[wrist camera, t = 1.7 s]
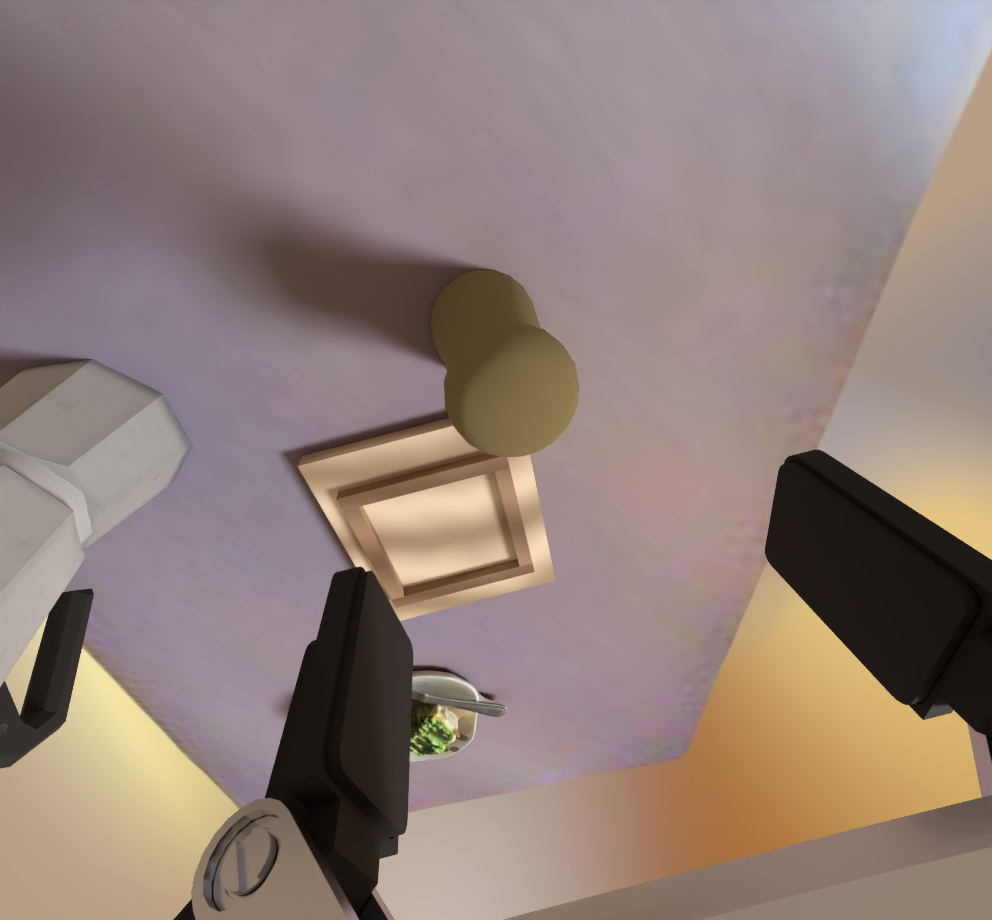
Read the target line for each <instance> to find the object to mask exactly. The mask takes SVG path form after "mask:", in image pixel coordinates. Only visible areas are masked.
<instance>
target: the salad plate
mask: <svg viewBox="0 0 992 920" xmlns="http://www.w3.org/2000/svg"><path fill="white" fill-rule="evenodd" d="M506 710H507V708H506V706H505V705H504V704H502V703H499V702H496V701H492V700H489V699H486V698H484V697H483V696H481V695H480V694H479V693H478V691H477V690H476V688H475V687H474V685H472V684H471V683H469V682H467V681H466V680H464V679H462V678H460V677H458V676H456V675H455V674H452V673H447V672H441V671H431V670H421V671H413V677H412V706H411V734H410V761H417V762H418V761H423V760H432V759H439V758H444V757H447V756H450V755H452V754H454V753H456V752H458V751H460V750H461V749H463V748H464V747H465V746H467V745H468V744H469V743H470V742H471V741H472V739H473V737H474V735H475V728H476V724H477V715H478V713H480V714H484V715H488V716H494V717H499V716H502V715H504V714H505V713H506Z"/></svg>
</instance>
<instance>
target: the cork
mask: <svg viewBox="0 0 992 920" xmlns="http://www.w3.org/2000/svg"><path fill="white" fill-rule="evenodd" d="M430 325H431V337H432V339H433V342H434V345H435V347H436V350H437V352H438V354H439V356H440V358H441V360H442V362H443V364H444V365H445V367H446V369H447V373H446V377H445V380H444V390H445V408H446V410H447V413H448V415H449V418H450V420H451V422H452V425H453V426H454V428H455V429H456V430H457V431H458V433H459V434H460V435H461V436H462V437H463V438H464V439H465V440H466V442H467V443H468V444H470V445H471V446H473V447H475V448H477V449H478V450H480V451H482V452H484V453H487V454H491V455H496V456H500V457H522V456H526V455H529V454H532V453H535V452H538V451H540V450H542V449H543V448H545V447H547V446H548V445H550V444H551V443H553V442H554V441H555V440H556V439H557V438H558V437H559V436H560V435H561V433H562V432H563V431H564V430H565V429H566V428H567V427H568V425H569V423H570V421H571V419H572V417H573V415H574V413H575V411H576V409H577V403H578V396H579V383H578V378H577V373H576V368H575V364H574V362H573V360H572V359H571V357H570V355H569V354H568V352H567V350H566V349H565V347H564V346H563V345H562V344H561V343H560V342H559V341H558V340H557V339H555V338H554V337H553V336H552V335H550V334H549V333H548V332H546V331H545V330H544V329H541V328H540V325H539V322H538V319H537V316H536V313H535V309H534V306H533V303H532V301H531V299H530V297H529V296H528V294H527V293H526V291H525V289H524V288H523V286H521V285H520V284H519V283H518V282H517V281H515V280H514V279H513V278H512V277H510V276H509V275H506V274H503V273H500V272H498V271H495V270H473V271H470V272H468V273H465V274H462V275H459V276H457V277H456V278H455V279H454V280H452V281H451V282H450V283H449V284H447V285H446V286H445V287H444V288H443V290H442V291H441V293H440V294H439V296H438V297H437V299H436V300H435V302H434V306H433V310H432V314H431V317H430Z"/></svg>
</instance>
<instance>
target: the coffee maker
mask: <svg viewBox="0 0 992 920" xmlns="http://www.w3.org/2000/svg"><path fill="white" fill-rule="evenodd" d="M191 446H192V444H191V443H190V441H189V439H188V437H187V436H186V434H185V432H184V430H183V429H182V427H181V425H180V423H179V422H178V420H177V418H176V416H175V415H174V413H173V411H172V409H171V408H170V406H169V404H168V402H167V401H166V399H165V397H164V395H163V394H161V393H159V392H157V391H155V390H153V389H151V388H149V387H147V386H145V385H143V384H141V383H139V382H137V381H135V380H133V379H131V378H129V377H127V376H125V375H123V374H121V373H119V372H117V371H115V370H113V369H111V368H109V367H107V366H104V365H102V364H100V363H98V362H96V361H94V360H85V361H77V362H70V363H63V364H56V365H48V366H41V367H34V368H27V369H24V370H23V371H21V372H20V373H19V374H17V375H16V376H15V377H14V378H12V379H11V380H10V381H9V382H7V383H6V384H5V385H3V386H2V387H1V388H0V768H5V767H10V766H12V765H13V764H14V763H16V762H17V761H18V760H19V759H21V758H22V757H23V756H25V755H26V754H27V753H28V752H29V751H31V750H32V749H33V748H35V747H36V746H37V745H39V744H40V743H41V742H42V741H44V740H45V739H46V738H48V737H49V736H50V735H52V734H53V733H54V732H55V731H57V730H58V729H59V728H60V727H61V726H62V725H63V723H64V722H65V721H66V717H67V712H68V708H69V703H70V699H71V694H72V690H73V685H74V681H75V676H76V672H77V667H78V663H79V658H80V654H81V649H82V645H83V640H84V636H85V631H86V627H87V622H88V618H89V613H90V609H91V604H92V600H93V595H94V593H93V591H92V589H85V590H76V591H69V592H63V591H64V589H65V588H66V586H67V585H68V583H69V582H70V580H71V579H72V577H73V576H74V574H75V573H76V571H77V569H78V568H79V566H80V565H81V563H82V562H83V560H84V559H85V555H84V552H83V549H82V548H85V547H88V546H89V545H90V544H92V543H93V542H94V541H96V540H97V539H98V538H100V537H101V536H102V535H104V534H105V533H106V532H108V531H109V530H110V529H112V528H113V527H114V526H116V525H117V524H118V523H120V522H121V521H122V520H123V519H125V518H126V517H127V516H129V515H130V514H131V513H133V512H134V511H135V510H137V509H138V508H139V507H141V506H142V505H143V504H145V503H146V502H147V501H149V500H150V499H151V498H153V497H154V496H155V495H157V494H158V493H159V492H161V491H162V490H163V489H165V488H166V487H167V486H169V485H170V484H171V483H172V481H173V480H174V478H175V476H176V474H177V472H178V470H179V468H180V467H181V465H182V463H183V461H184V459H185V457H186V455H187V454H188V452H189V450H190V448H191ZM62 592H63V593H62ZM48 614H49V615H48ZM47 615H48V618H47V622H46V625H45V629H44V632H43V636H42V639H41V643H40V647H39V650H38V654H37V657H36V661H35V665H34V668H33V672H32V675H31V679H30V682H29V686H28V689H27V693H26V696H25V700H24V704H23V707H22V711H21V714H20V716H19V713H18V711H17V709H16V706H15V704H14V702H13V699H12V697H11V694H10V692H9V690H8V688H7V685H6V683H5V679H6V677H7V676H8V675H9V673H10V671H11V670H12V668H13V667H14V665H15V664H16V662H17V661H18V659H19V658H20V656H21V655H22V653H23V652H24V650H25V649H26V647H27V646H28V644H29V643H30V641H31V640H32V638H33V636H34V635H35V633H36V632H37V630H38V629H39V627H40V626H41V624H42V623H43V621H44V620H45V618H46V617H47Z"/></svg>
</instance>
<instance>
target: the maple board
mask: <svg viewBox="0 0 992 920" xmlns="http://www.w3.org/2000/svg"><path fill="white" fill-rule="evenodd" d="M298 468H299V470H300V471H301V473H302V475H303V477H304V478H305V480H306V482H307V483H308V485H309V487H310V489H311V490H312V492H313V494H314V495H315V497H316V499H317V501H318V502H319V504H320V506H321V508H322V509H323V511H324V513H325V514H326V516H327V518H328V520H329V521H330V523H331V525H332V527H333V528H334V530H335V532H336V533H337V535H338V537H339V539H340V540H341V542H342V544H343V546H344V547H345V549H346V551H347V552H348V554H349V556H350V558H351V559H352V561H353V563H354V564H355V566H356V567H363V568H364V569H365V571H373V573H374V574H375V576H376V578H377V580H378V581H379V583H380V585H381V587H382V589H383V591H384V593H385V595H386V596H387V598H388V600H389V602H390V604H391V606H392V608H393V609H394V611H395V613H396V615H397V617H398V619H399V621H401V620H404V619H408V618H412V617H416V616H420V615H424V614H428V613H431V612H435V611H439V610H443V609H447V608H451V607H454V606H458V605H462V604H466V603H470V602H474V601H478V600H481V599H485V598H489V597H493V596H497V595H501V594H505V593H508V592H512V591H516V590H520V589H524V588H528V587H532V586H535V585H539V584H543V583H547V582H551V581H555V576H554V571H553V567H552V562H551V557H550V552H549V547H548V542H547V537H546V532H545V527H544V522H543V517H542V512H541V507H540V503H539V498H538V493H537V488H536V483H535V478H534V473H533V468H532V463H531V458H530V454H529V455H526V456H522V457H500V456H496V455H491V454H487V453H484V452H482V451H480V450H478V449H477V448H475V447H473V446H471V445H470V444H468V443H467V442H466V440H465V439H464V438H463V437H462V436H461V435H460V434H459V433H458V431H457V430H456V429H455V428H454V426H453V425H452V422H451V420H450V418H447V419H443V420H439V421H435V422H431V423H427V424H423V425H420V426H416V427H412V428H408V429H404V430H400V431H396V432H393V433H389V434H385V435H381V436H377V437H373V438H369V439H366V440H362V441H358V442H354V443H350V444H346V445H342V446H339V447H335V448H331V449H327V450H323V451H319V452H315V453H311V454H308V455H304V456H302V458H301V460H300V462H299V464H298Z"/></svg>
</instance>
